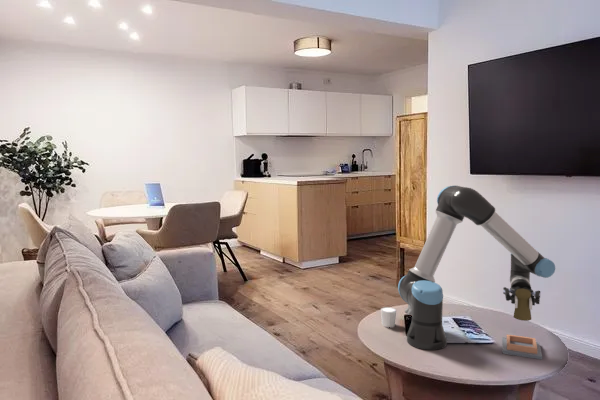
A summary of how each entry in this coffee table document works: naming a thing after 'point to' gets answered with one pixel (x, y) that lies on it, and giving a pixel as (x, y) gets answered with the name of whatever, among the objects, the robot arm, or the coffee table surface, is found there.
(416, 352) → the coffee table surface
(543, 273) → the robot arm
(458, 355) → the coffee table surface
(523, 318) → the cork
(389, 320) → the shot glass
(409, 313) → the toy rhinoceros
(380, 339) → the coffee table surface
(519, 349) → the pallet plate
